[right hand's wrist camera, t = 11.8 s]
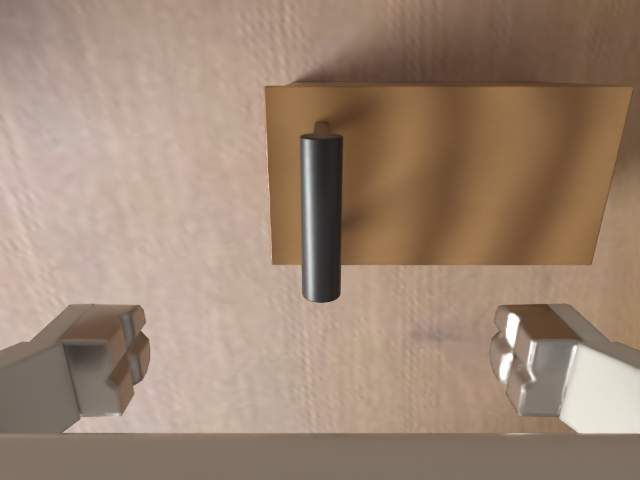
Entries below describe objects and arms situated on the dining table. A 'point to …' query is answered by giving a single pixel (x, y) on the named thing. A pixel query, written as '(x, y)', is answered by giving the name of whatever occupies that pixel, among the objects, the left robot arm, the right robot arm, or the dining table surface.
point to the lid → (437, 175)
